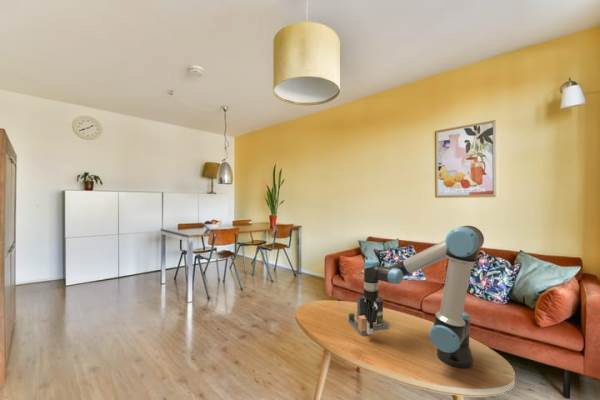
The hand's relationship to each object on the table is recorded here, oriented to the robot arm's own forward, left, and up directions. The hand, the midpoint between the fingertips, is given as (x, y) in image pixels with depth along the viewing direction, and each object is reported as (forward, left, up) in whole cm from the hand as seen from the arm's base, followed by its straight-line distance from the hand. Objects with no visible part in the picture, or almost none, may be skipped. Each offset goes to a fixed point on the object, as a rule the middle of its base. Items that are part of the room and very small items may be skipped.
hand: (369, 333), depth 148 cm
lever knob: (+8, 0, -2) cm, 8 cm away
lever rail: (+14, 0, -4) cm, 14 cm away
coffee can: (+16, -12, -2) cm, 20 cm away
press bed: (+18, -12, -4) cm, 22 cm away
